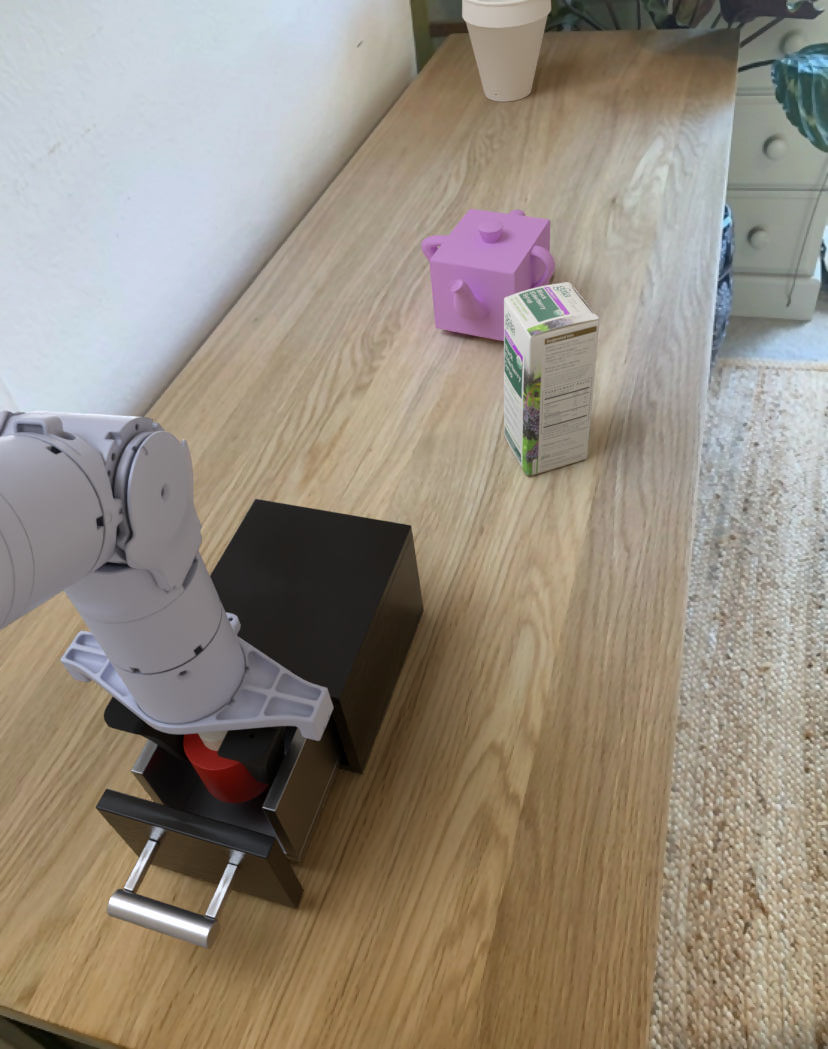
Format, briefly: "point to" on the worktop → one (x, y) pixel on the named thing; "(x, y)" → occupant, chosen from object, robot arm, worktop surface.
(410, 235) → the worktop surface
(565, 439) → the syrup box
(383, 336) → the worktop surface
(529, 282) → the teapot
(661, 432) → the worktop surface
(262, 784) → the bottle
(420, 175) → the worktop surface
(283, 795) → the drawer
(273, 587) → the cabinet
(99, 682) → the robot arm
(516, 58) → the cup
